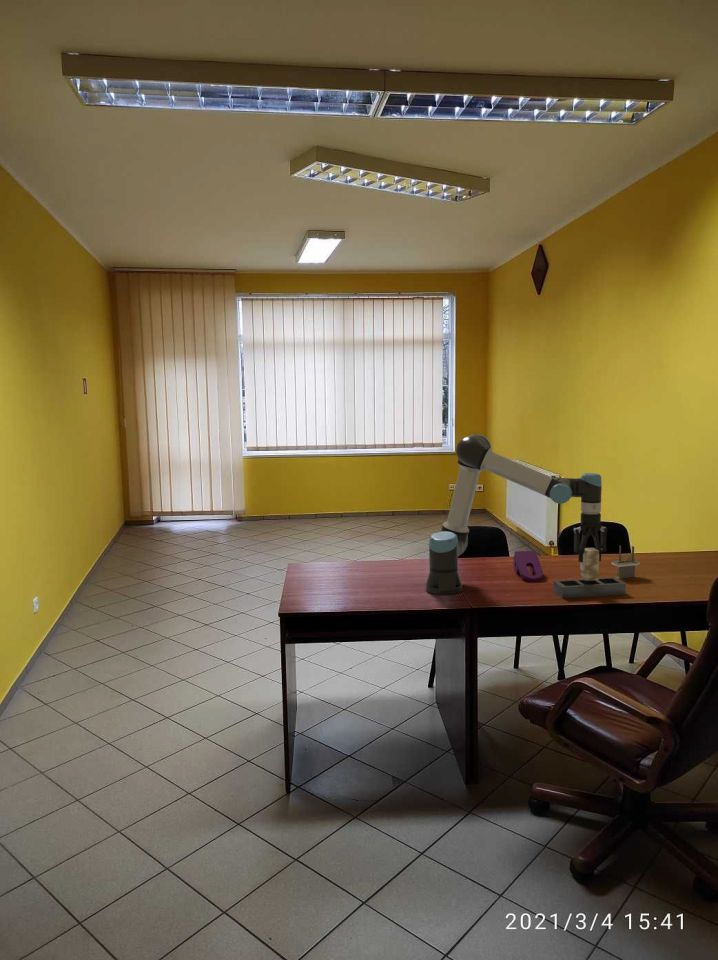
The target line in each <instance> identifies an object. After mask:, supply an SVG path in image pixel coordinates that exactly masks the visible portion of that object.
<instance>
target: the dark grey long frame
mask: <svg viewBox="0 0 718 960" xmlns="http://www.w3.org/2000/svg"><path fill="white" fill-rule="evenodd" d="M626 585H627V583H626V582H624V581H622V580H620V579H619V578H616V576H614V577H598V580H592V581H586V580H584V579H583V578H579V579H578V578H576V579H560V580H553V587H552V588H553V592H554V593H555V595H557V596H558V597H560V598H561V599H572V598H574V599H575V598H589V597H593V598H594V597H606V596H609V597H610V596H621V595H623V596H624V595H626V592H627V590H626V589H627V586H626Z"/></svg>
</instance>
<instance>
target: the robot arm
mask: <svg viewBox="0 0 718 960" xmlns="http://www.w3.org/2000/svg"><path fill="white" fill-rule="evenodd" d="M455 453H456V454H455V455H456V456H457V466H458V467H459V470H458V473H457V479H456V481H455V482H456V483H455V487H454V492H453V495H452V499H451V503H450V504H451V505H450V507H449V511H448V516H447V520H446V521H444V522H443V523H442V525H441V530H440V531H438V532H434V533H432V534H431V535H430V537H429V540H428V550H429V551H428V553H429V554H428V555H429V560H428V561H429V562H428V563H429V572H428V574H427V579H426V581H425V591H426V593H427V592H428V593H430V594H432V595H440V596H450V595H456V594H459V593H461V592H462V591H463V583H462V581H461V577H460V574H459V569H458V567H459V565H458V564H459V563H458V562H459V559H458V557H459V556H461V555H462V554H463V553H464V552H465V551H466V550H467V547H468V544H469V537H468V536H469V532H470V529H469V527H468V522H469V519H470V514H471V511H472V506H473V501H474V498H475V494H476V490H477V485H478V483H479V478H480V474H481V472H483V471H487V472H490V473H492V474H494V475H497V476H499V477H500V478H503V479H506V480H508V481H510V482H513V483H515V484H517V485H519V486H521V487H524V488H526V489H529V490H531V491H533V492H536V493H538V494H540V495H542V496H545V497H547V498H549V499H551V501H552V502H554V503H556V504H558V505H559V504H560V505H562V504H565V503H567V502H568V501H570V500H571V499H572V498H580V511H581V513H580V524H579V526H578V527H573V529H572V531H573V535H574V536H573V552H574V553H576V554H578V562H579V565H580V566H579V568H580V571H581V570H582V571H585V554H584V550H585V548H586V546H587V542H588V539H589V537H592V539H593V543H594V548H595V549H597V550H599V562H601V561H602V555H603V554H604V553H606V552H607V533H608V529H609V528H608V527H606V526H602V524H601V523H602V519H601V518H602V514H601V511H602V490H603V489H602V487H603V485H602V476H601V474H600V473H596V472H595V473H594V472H584V473H582V474H581V476H580V478H578V477H577V478H570V477H569V478H568V477H552V476H550V475H547V474H544V473H543V472H540V471H538V470H535V469H534V468H531V467H528V466H526V465H524V464H522V463H519V462H517V461H514V460H512V459H509V458H507V457H505V456H503V455H500V454H498V453H496V452H494V451H493V449H492V446H491V442H490V440H489V439H488V438H487V437H486V436H485V435H482V434H477V433H475V434H474V433H473V434H470V435H468V436H465V437H463V438H462V439H461V440H459V441H458V442H457V445H456V449H455ZM599 531H600V535H599ZM581 532H582V534H581ZM580 534H581V535H580ZM599 537H600V539H599ZM580 538H581V539H580ZM599 570H600V568H599V569H598V571H599Z"/></svg>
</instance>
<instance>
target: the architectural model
mask: <svg viewBox="0 0 718 960" xmlns="http://www.w3.org/2000/svg"><path fill="white" fill-rule="evenodd" d="M618 548H619V549H618V550H619V553H618V559H617V560H613V561H611V565H613V566H615V567H618V568H616V572H617V573H616V576H615V578H617V579H619V580H620V579H622V578H623V579H627V578H628V579H629V578H635V577H636V574H635V573H636V566H638V565H641V562H640V561H638V560H636V555H635V546H633V545H631V553H630V554H625V555H622V546H621V545H619V547H618ZM623 579H622V580H623Z"/></svg>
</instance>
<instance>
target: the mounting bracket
mask: <svg viewBox="0 0 718 960" xmlns="http://www.w3.org/2000/svg"><path fill="white" fill-rule="evenodd" d="M528 568H529V570H528ZM513 570H514V573H515V572H516V573H515V574H519V575H520V577H521V578H522V579H523V580H524V581H526V580H527V581H526V582H540V581H541V580H542V578H543V573H544V572H543V568H542V565H541V562H540V559H539V556H538V554H537V550H521V551H520V550H516V551H514V555H513ZM529 571H531V572H532V573H531V572H530V573H531V574H534V575H531V574H530V573H529Z"/></svg>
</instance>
